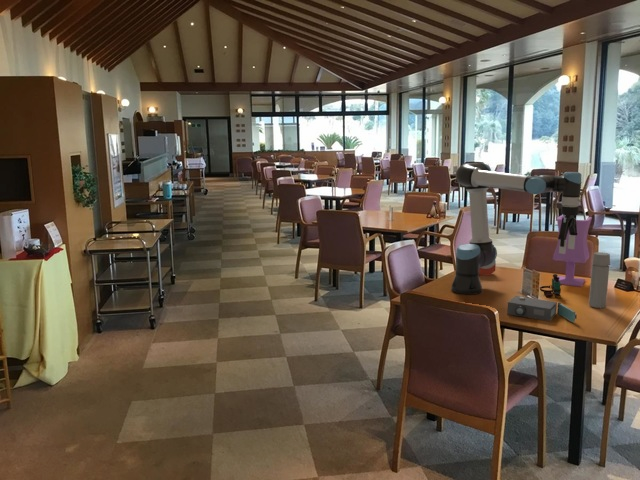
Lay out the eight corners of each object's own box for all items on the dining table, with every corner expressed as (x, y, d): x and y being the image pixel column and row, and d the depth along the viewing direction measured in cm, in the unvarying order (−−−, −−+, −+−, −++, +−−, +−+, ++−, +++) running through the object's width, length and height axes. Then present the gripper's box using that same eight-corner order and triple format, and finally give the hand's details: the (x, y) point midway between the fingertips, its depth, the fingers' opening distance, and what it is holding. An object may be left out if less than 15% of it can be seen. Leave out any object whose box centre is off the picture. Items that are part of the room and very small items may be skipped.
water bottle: (605, 309, 256) (610, 256, 252) (586, 307, 260) (591, 254, 256) (607, 304, 264) (612, 252, 259) (589, 302, 268) (593, 250, 263)
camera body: (505, 315, 250) (506, 301, 249) (515, 307, 261) (515, 294, 260) (548, 322, 240) (549, 308, 238) (556, 314, 251) (557, 300, 250)
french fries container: (495, 275, 321) (496, 244, 318) (476, 275, 321) (477, 244, 318) (493, 273, 325) (494, 242, 322) (474, 273, 326) (475, 242, 322)
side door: (572, 323, 238) (573, 311, 237) (556, 313, 251) (557, 302, 250) (576, 323, 238) (577, 311, 238) (560, 313, 251) (561, 302, 250)
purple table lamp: (587, 281, 306) (592, 217, 300) (582, 287, 293) (588, 221, 287) (556, 277, 315) (560, 215, 308) (551, 283, 302) (555, 218, 295)
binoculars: (538, 274, 282) (559, 273, 280) (539, 294, 284) (560, 293, 282) (541, 278, 274) (563, 277, 272) (542, 299, 275) (564, 298, 273)
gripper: (570, 209, 248) (566, 256, 252) (586, 203, 267) (582, 247, 271) (553, 208, 253) (549, 254, 257) (569, 202, 271) (566, 245, 275)
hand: (566, 251), depth 264 cm, fingers open, 13 cm apart
